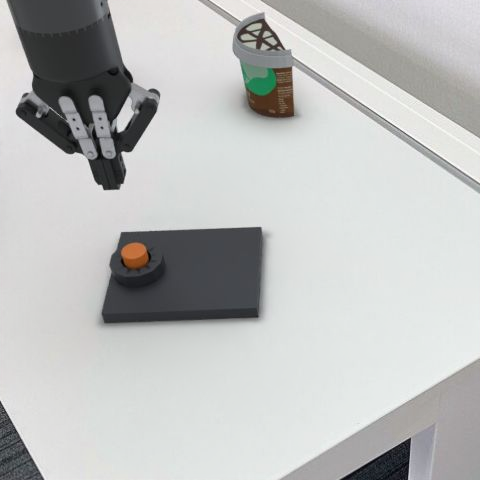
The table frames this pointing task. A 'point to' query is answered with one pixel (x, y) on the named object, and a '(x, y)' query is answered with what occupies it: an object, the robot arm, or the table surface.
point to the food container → (264, 67)
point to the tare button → (135, 255)
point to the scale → (187, 276)
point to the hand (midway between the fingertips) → (113, 184)
